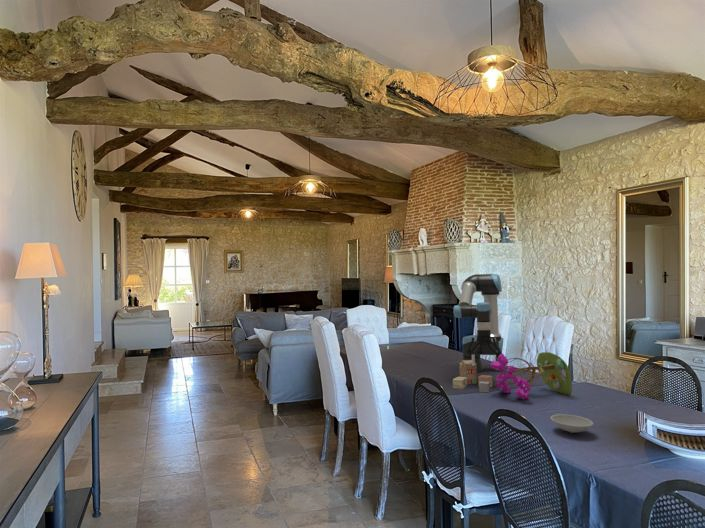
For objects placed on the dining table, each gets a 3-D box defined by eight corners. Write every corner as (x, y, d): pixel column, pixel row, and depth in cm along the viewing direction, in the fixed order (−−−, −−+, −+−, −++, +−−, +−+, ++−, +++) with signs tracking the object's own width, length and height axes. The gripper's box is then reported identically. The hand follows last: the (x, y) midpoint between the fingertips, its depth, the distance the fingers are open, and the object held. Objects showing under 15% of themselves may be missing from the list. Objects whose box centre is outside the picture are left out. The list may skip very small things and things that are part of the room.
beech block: (458, 385, 295) (457, 376, 295) (467, 386, 292) (467, 377, 292) (452, 388, 287) (452, 379, 287) (462, 389, 284) (462, 380, 284)
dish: (542, 428, 208) (541, 416, 209) (571, 424, 213) (570, 412, 213) (572, 441, 192) (571, 428, 192) (603, 437, 196) (602, 424, 196)
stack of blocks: (459, 377, 318) (458, 357, 318) (469, 377, 318) (468, 357, 318) (466, 384, 296) (465, 363, 297) (477, 384, 296) (476, 363, 297)
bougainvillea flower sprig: (565, 338, 260) (506, 352, 251) (583, 394, 253) (523, 410, 244) (533, 346, 288) (479, 359, 279) (548, 396, 281) (494, 411, 272)
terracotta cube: (482, 385, 293) (482, 374, 293) (492, 386, 290) (492, 375, 290) (478, 387, 288) (478, 376, 288) (488, 388, 285) (488, 377, 285)
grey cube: (480, 390, 280) (480, 381, 280) (489, 390, 278) (489, 381, 278) (479, 392, 275) (479, 383, 276) (488, 392, 274) (488, 383, 274)
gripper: (460, 329, 294) (461, 365, 293) (502, 330, 280) (504, 369, 279) (465, 328, 300) (466, 363, 299) (507, 329, 286) (508, 367, 285)
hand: (484, 366), depth 289 cm, fingers open, 13 cm apart
